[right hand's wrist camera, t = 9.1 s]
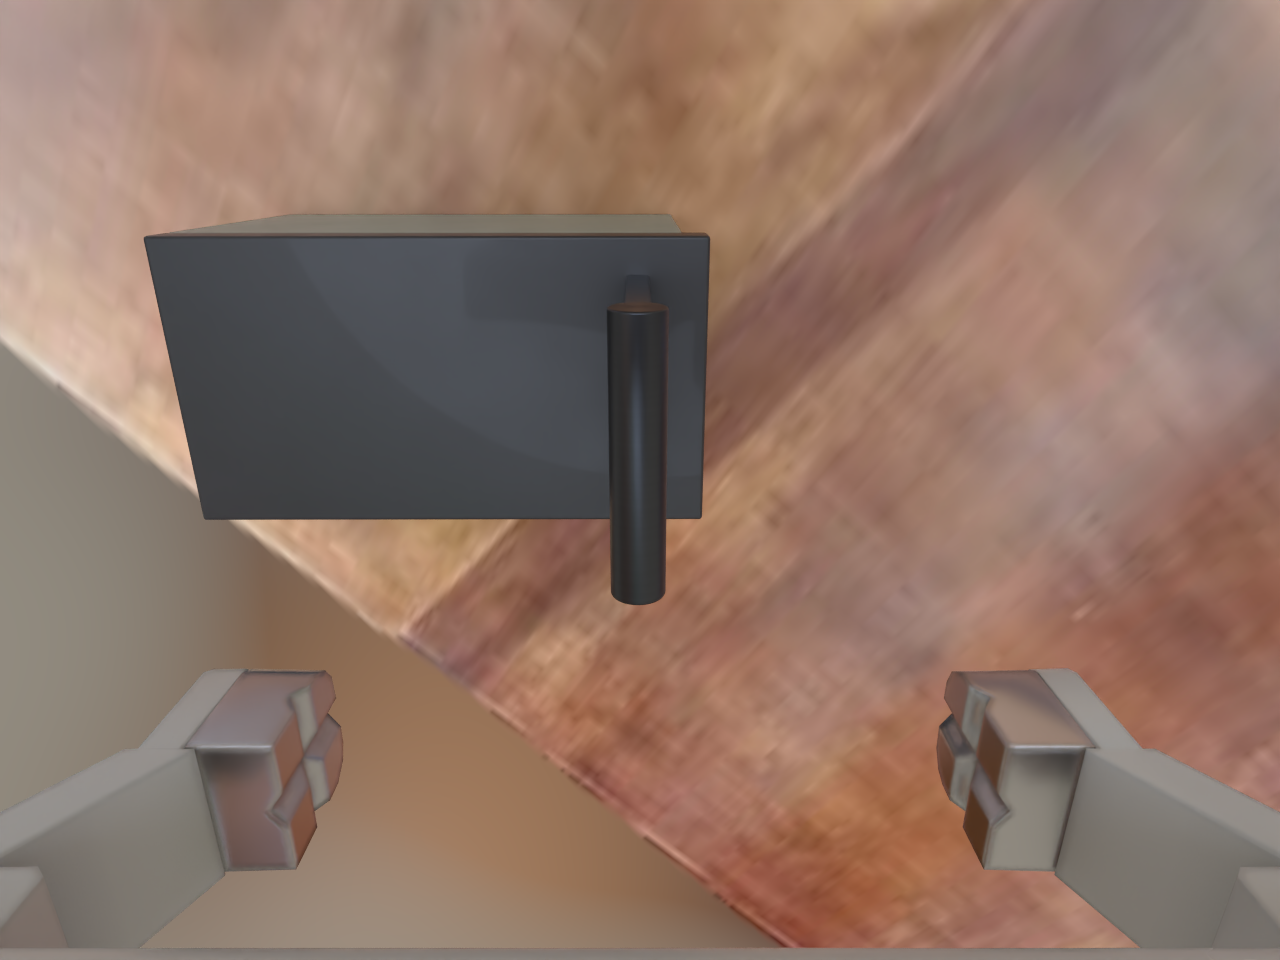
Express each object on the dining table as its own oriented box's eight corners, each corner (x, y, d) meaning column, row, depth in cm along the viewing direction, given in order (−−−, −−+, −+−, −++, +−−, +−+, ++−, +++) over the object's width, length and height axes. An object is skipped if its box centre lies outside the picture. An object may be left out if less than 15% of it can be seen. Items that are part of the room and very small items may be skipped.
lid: (706, 232, 26) (739, 265, 17) (699, 505, 29) (723, 639, 21) (164, 233, 26) (-58, 266, 17) (220, 506, 29) (57, 640, 21)
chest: (671, 214, 35) (683, 232, 26) (668, 423, 38) (678, 505, 29) (288, 214, 35) (164, 232, 26) (320, 424, 38) (221, 505, 29)
